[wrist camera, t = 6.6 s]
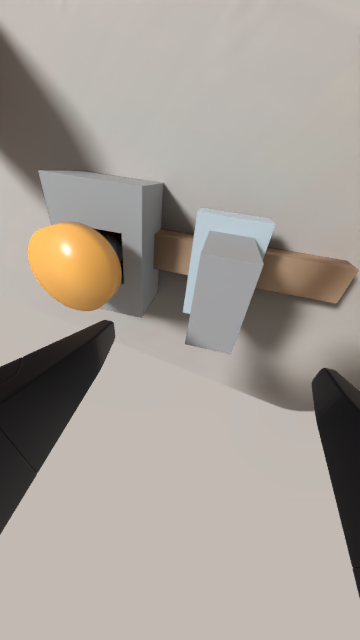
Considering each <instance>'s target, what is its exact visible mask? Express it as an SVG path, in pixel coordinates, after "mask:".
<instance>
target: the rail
mask: <svg viewBox="0 0 360 640" xmlns="http://www.w3.org/2000/svg"><path fill="white" fill-rule="evenodd" d="M193 239H194V235H193V234H187V233H181V232H175V231H169V230H163V229H161V230H159V231H158V232H157V233H155V234H154V260H153V269H158V270H163V271H169V272H174V273H179V274H184V275H188V273H189V266H190V259H191V252H192V246H193ZM263 264H264V265H263V268H262V271H261V273H260V276H259V279H258V282H257V284H256V287H255V288H257V289H263V290H268V291H273V292H278V293H284V294H289V295H294V296H299V297H304V298H310V299H315V300H320V301H325V302H331V303H336V304H337V302H338V301H339V299H340V298H341V296H342V295H343V293H344V292H345V290H346V289H347V287H348V286H349V284H350V283H351V281H352V280H353V278H354V277H355V275H356V274H357V272H358V269H357V268H356V267H354V266H353V265H352V264H350V263H349V262H348V261H344V260H338V259H333V258H327V257H321V256H315V255H309V254H303V253H298V252H292V251H286V250H280V249H274V248H268V247H267V250H266V253H265V255H264V258H263Z"/></svg>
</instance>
